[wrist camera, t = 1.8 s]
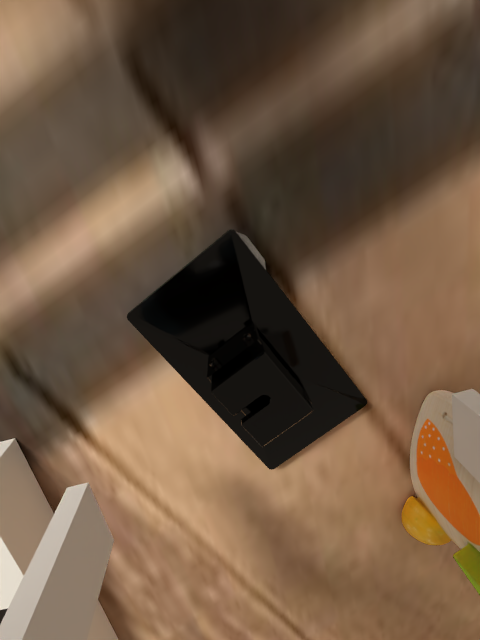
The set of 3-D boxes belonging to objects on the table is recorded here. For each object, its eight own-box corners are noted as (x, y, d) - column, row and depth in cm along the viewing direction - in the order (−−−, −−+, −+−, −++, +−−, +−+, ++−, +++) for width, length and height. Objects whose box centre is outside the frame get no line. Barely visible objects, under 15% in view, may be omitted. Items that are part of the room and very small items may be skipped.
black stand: (126, 313, 19) (98, 345, 15) (236, 223, 18) (242, 227, 14) (270, 467, 22) (282, 531, 18) (370, 397, 21) (410, 447, 17)
